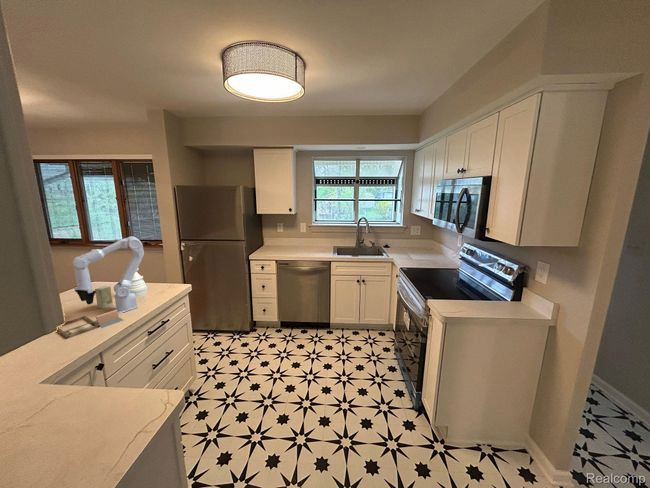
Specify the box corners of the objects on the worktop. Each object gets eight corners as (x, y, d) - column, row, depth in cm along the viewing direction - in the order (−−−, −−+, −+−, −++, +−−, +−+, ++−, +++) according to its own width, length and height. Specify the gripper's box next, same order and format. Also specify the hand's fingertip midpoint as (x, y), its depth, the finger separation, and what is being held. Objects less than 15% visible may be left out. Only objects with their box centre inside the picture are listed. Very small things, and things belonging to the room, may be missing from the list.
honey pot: (145, 289, 188) (142, 265, 184) (149, 294, 179) (146, 269, 175) (123, 293, 180) (119, 268, 176) (125, 299, 170) (121, 273, 167)
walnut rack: (85, 318, 146) (84, 315, 146) (100, 327, 137) (99, 325, 137) (52, 328, 135) (52, 325, 135) (67, 339, 126) (66, 336, 126)
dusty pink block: (117, 317, 147) (115, 309, 146) (118, 318, 146) (117, 310, 145) (97, 324, 140) (95, 316, 139) (98, 325, 139) (97, 317, 138)
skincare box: (103, 309, 157) (100, 289, 155) (97, 308, 158) (94, 289, 156) (113, 304, 163) (110, 286, 161) (108, 303, 164) (105, 285, 162)
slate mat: (114, 315, 150) (113, 314, 150) (124, 320, 144) (124, 320, 144) (92, 322, 142) (91, 321, 142) (102, 328, 136) (101, 328, 136)
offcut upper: (88, 325, 137) (88, 323, 137) (92, 327, 136) (92, 325, 136) (69, 333, 130) (68, 331, 130) (72, 335, 129) (72, 332, 129)
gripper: (67, 278, 142) (72, 301, 145) (78, 283, 135) (83, 308, 138) (84, 274, 148) (88, 297, 151) (95, 279, 141) (99, 303, 144)
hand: (87, 302), depth 145 cm, fingers open, 7 cm apart
